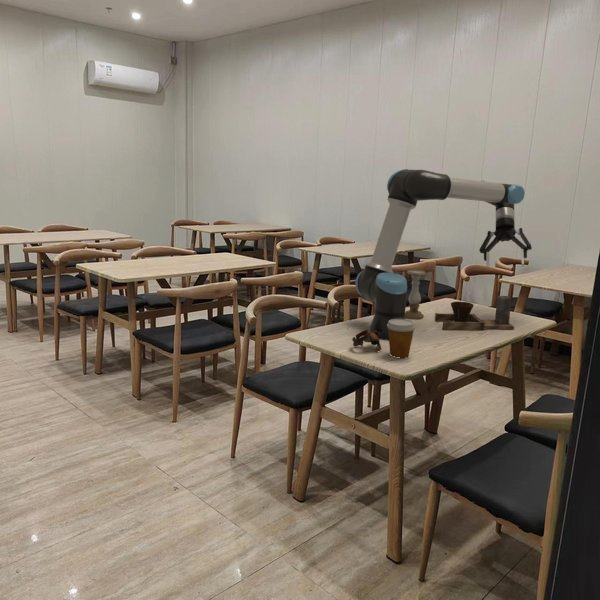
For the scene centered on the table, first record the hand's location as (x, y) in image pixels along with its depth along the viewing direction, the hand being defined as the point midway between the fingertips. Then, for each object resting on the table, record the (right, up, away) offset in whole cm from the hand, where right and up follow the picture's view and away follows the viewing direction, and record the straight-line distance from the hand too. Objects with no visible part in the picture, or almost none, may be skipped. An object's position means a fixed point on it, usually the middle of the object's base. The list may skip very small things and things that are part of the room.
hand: (505, 266), depth 223 cm
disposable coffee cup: (-50, -33, -36) cm, 70 cm away
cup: (-18, -25, +3) cm, 30 cm away
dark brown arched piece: (-60, -32, -29) cm, 74 cm away
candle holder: (-34, -21, +16) cm, 43 cm away
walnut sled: (-12, -25, +3) cm, 27 cm away
